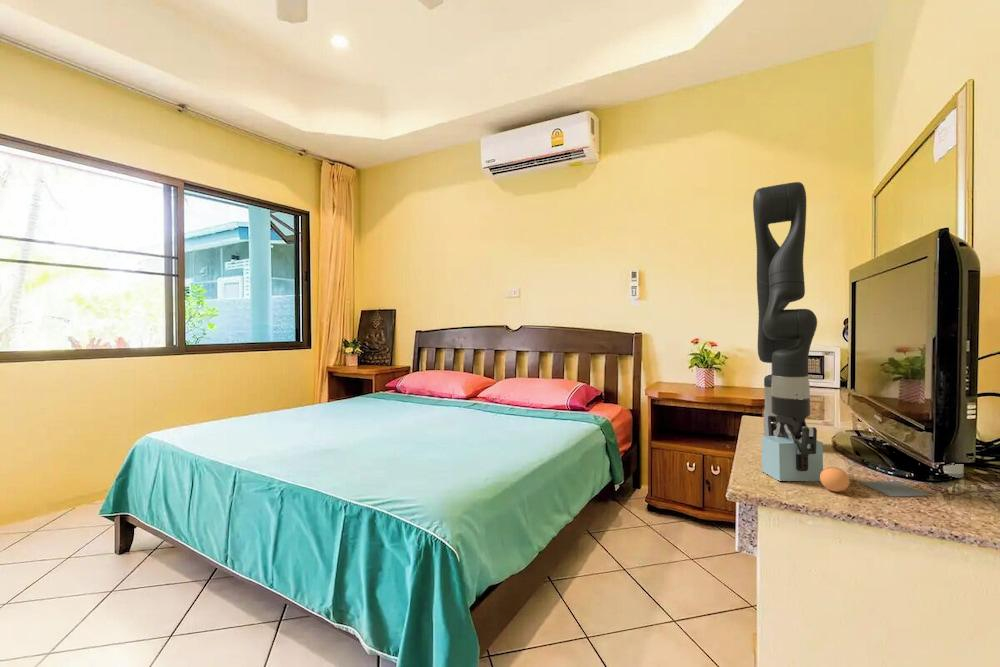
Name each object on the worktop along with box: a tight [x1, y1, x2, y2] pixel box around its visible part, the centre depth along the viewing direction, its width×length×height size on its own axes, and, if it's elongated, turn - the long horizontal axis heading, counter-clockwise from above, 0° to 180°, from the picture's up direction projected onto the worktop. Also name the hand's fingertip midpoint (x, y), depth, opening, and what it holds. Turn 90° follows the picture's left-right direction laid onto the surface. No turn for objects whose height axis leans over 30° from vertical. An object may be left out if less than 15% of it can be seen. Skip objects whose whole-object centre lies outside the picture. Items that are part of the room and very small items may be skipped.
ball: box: [820, 466, 850, 492], centre depth 93 cm, size 5×5×5 cm
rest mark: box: [858, 480, 932, 498], centre depth 93 cm, size 8×8×1 cm
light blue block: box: [761, 435, 824, 482], centre depth 102 cm, size 7×10×9 cm
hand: (791, 465), depth 102 cm, fingers closed on light blue block, 6 cm apart
